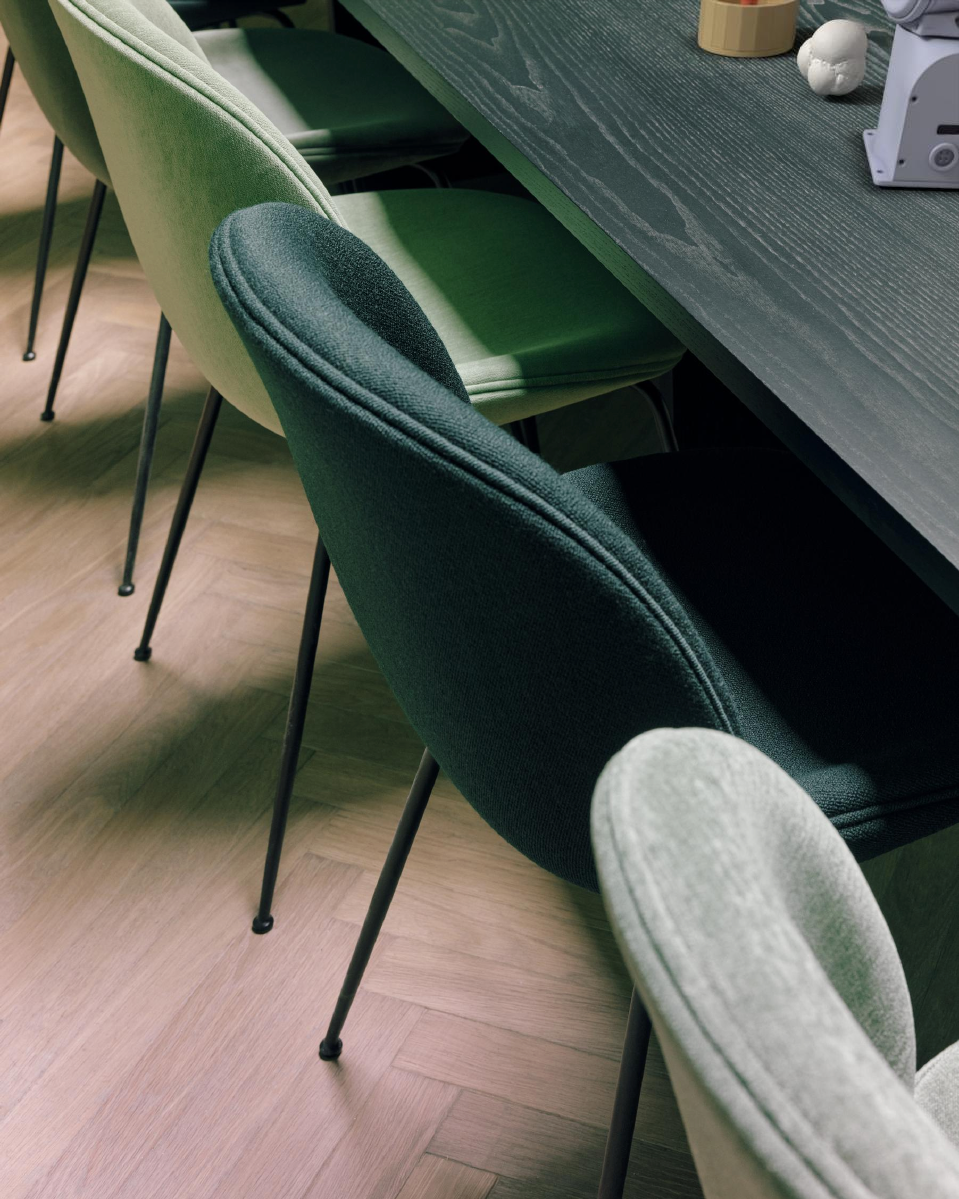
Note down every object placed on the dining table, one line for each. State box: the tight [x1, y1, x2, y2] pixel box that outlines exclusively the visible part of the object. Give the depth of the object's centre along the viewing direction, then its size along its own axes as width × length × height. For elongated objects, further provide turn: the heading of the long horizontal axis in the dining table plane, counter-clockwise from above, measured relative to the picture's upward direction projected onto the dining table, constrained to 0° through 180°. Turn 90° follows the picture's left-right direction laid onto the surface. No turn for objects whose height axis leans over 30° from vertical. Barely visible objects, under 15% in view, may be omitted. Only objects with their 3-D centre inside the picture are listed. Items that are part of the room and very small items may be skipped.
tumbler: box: [697, 0, 801, 58], centre depth 103 cm, size 8×8×4 cm
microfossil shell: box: [796, 18, 869, 96], centre depth 92 cm, size 4×5×6 cm
